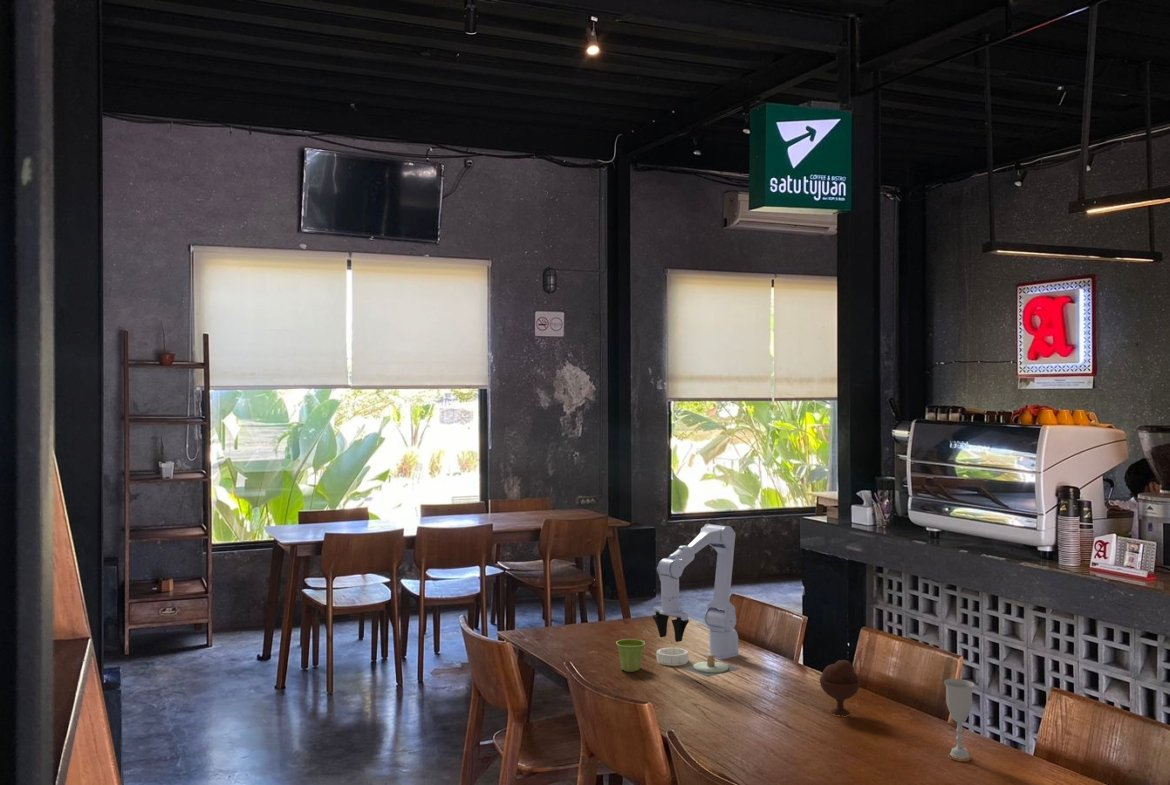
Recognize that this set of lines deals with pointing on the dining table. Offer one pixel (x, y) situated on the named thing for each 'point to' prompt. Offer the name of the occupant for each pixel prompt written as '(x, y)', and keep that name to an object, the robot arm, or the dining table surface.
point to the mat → (691, 668)
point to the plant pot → (630, 654)
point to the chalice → (959, 709)
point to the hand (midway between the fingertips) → (670, 639)
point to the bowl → (672, 656)
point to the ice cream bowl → (840, 684)
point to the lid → (711, 665)
